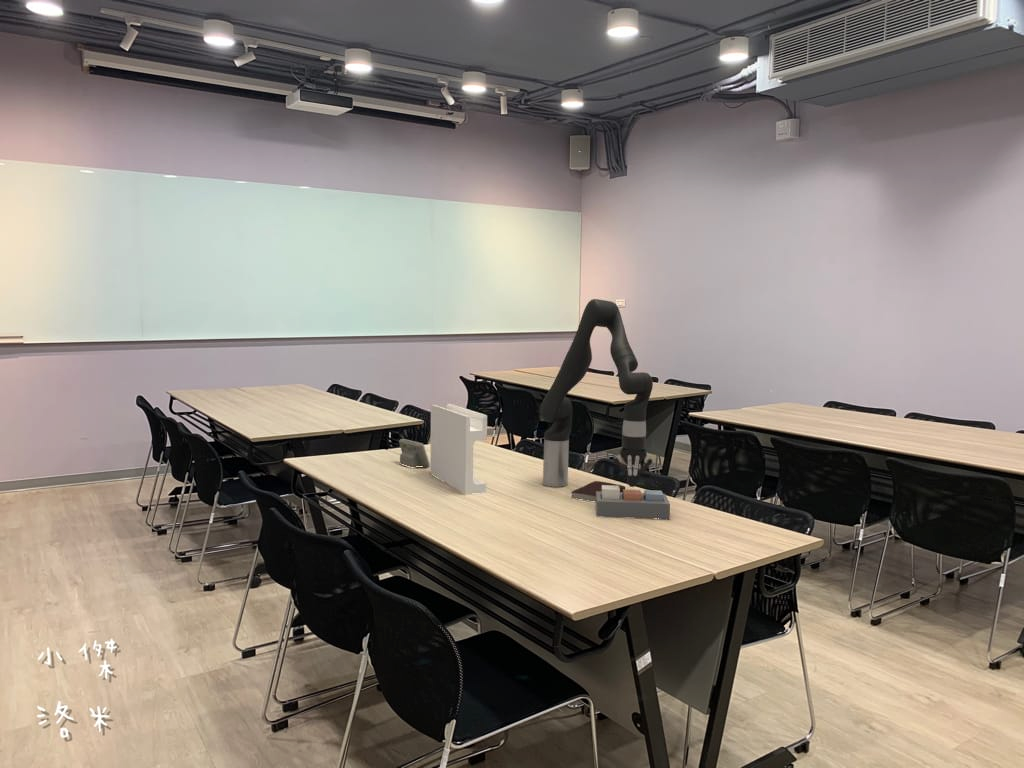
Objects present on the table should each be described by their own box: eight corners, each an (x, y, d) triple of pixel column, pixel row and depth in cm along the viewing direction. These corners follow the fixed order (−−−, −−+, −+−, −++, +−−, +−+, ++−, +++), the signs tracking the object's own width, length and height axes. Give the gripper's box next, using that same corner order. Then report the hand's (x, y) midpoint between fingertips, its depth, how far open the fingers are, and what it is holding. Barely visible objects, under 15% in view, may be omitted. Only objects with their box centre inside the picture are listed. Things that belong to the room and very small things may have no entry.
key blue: (645, 507, 237) (645, 494, 236) (643, 503, 242) (644, 490, 242) (663, 508, 236) (663, 494, 236) (661, 503, 242) (661, 490, 242)
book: (625, 493, 267) (625, 485, 267) (602, 505, 251) (602, 495, 250) (594, 489, 274) (594, 480, 273) (570, 499, 257) (570, 490, 257)
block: (430, 474, 290) (430, 404, 288) (449, 472, 294) (449, 403, 291) (465, 495, 259) (466, 416, 256) (486, 492, 263) (487, 415, 260)
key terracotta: (623, 506, 238) (624, 493, 237) (622, 502, 243) (623, 489, 243) (641, 507, 237) (641, 494, 237) (639, 502, 243) (640, 489, 242)
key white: (601, 502, 238) (602, 489, 238) (601, 498, 244) (601, 485, 243) (619, 503, 238) (619, 489, 237) (618, 498, 243) (618, 485, 243)
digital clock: (431, 468, 302) (431, 442, 301) (410, 470, 297) (411, 444, 296) (415, 461, 315) (415, 436, 314) (395, 463, 311) (395, 438, 310)
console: (596, 516, 235) (597, 501, 234) (595, 505, 248) (596, 491, 247) (669, 519, 233) (670, 504, 232) (664, 508, 246) (665, 494, 245)
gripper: (653, 432, 241) (651, 484, 243) (612, 431, 242) (610, 482, 244) (655, 436, 233) (653, 490, 235) (613, 435, 235) (611, 488, 236)
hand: (631, 486), depth 239 cm, fingers closed
